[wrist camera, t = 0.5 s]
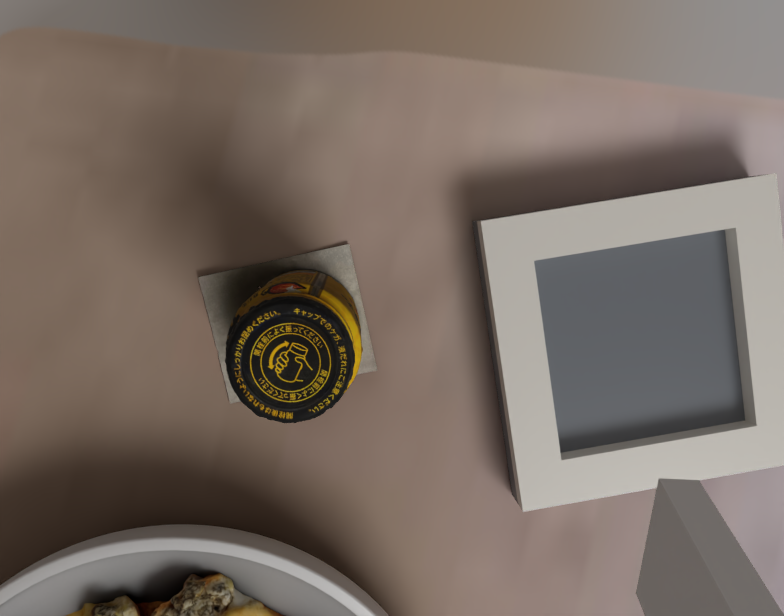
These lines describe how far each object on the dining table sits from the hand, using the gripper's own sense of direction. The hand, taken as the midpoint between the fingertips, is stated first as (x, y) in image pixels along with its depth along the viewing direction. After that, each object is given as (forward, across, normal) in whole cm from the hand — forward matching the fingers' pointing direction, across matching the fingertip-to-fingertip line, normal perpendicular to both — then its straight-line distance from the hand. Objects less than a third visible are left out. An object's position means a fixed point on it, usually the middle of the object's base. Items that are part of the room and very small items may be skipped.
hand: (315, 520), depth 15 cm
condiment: (+27, +4, +7) cm, 28 cm away
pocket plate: (+28, -15, +7) cm, 32 cm away
